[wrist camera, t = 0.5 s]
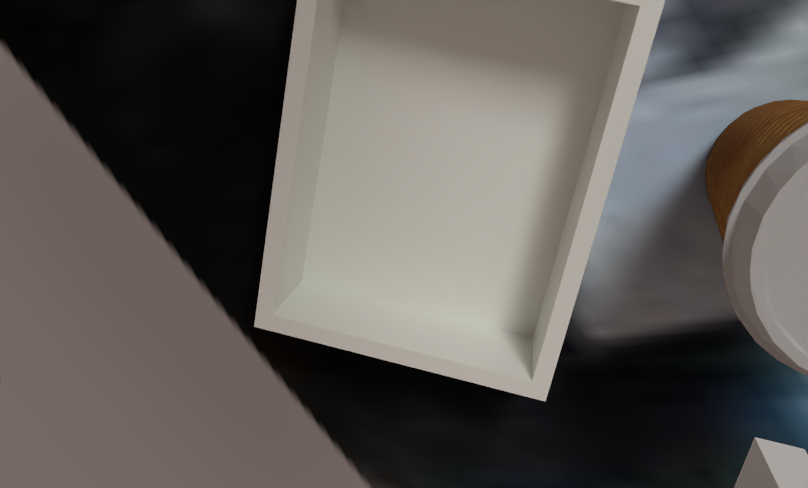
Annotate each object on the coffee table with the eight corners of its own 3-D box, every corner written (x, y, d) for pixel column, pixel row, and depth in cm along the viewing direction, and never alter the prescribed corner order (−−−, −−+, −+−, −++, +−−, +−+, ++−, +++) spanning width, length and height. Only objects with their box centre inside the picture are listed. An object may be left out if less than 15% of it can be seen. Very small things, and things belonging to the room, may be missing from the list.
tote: (341, -73, 32) (308, -84, 28) (649, -11, 31) (669, -13, 26) (288, 286, 38) (254, 326, 34) (544, 350, 37) (545, 401, 32)
